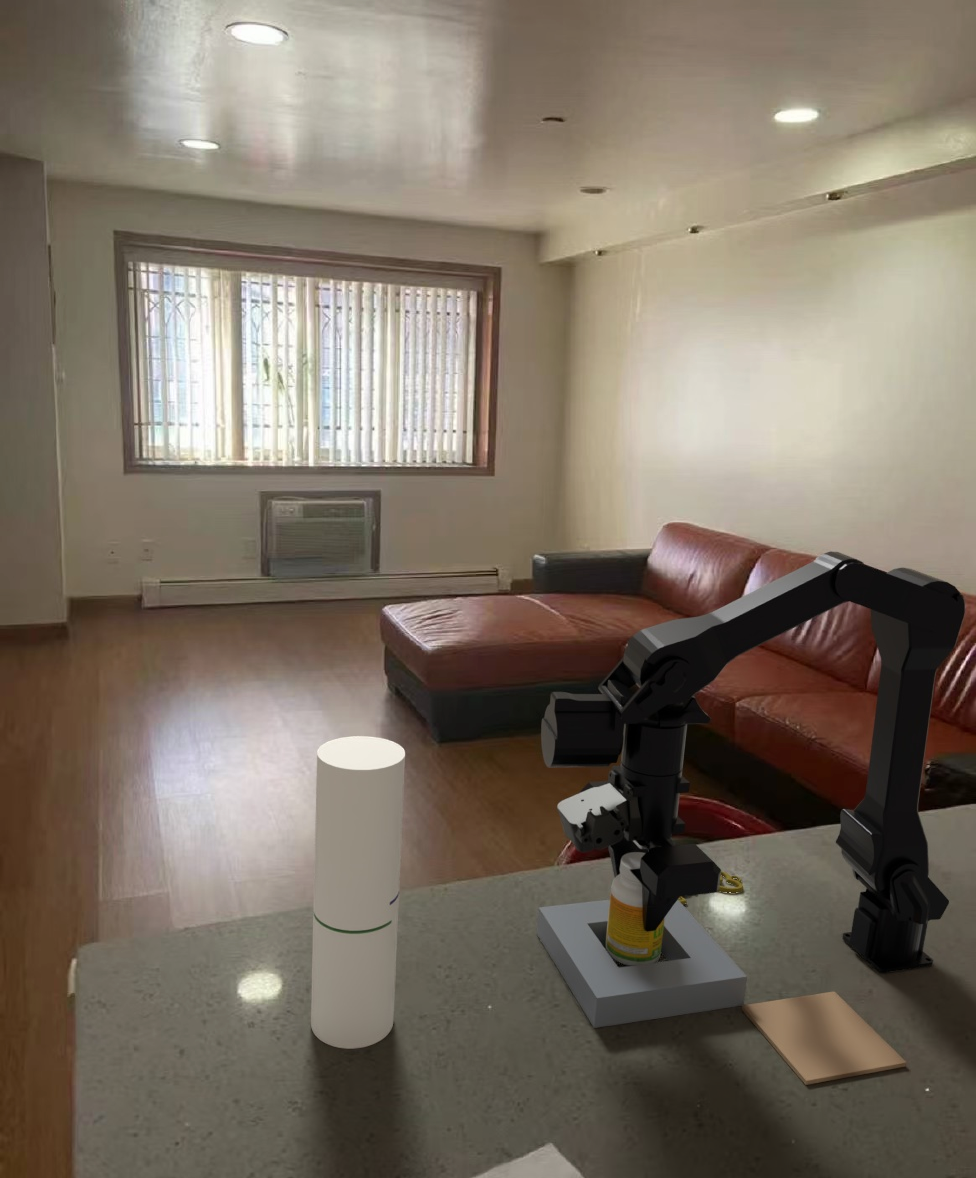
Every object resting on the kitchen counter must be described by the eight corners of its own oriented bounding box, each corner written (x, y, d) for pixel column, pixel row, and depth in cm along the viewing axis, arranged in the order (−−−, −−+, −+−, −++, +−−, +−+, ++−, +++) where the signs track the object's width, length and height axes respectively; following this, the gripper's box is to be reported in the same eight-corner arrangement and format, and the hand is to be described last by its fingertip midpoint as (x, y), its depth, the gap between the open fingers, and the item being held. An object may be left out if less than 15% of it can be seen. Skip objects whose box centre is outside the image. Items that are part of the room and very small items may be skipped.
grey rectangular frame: (668, 917, 105) (671, 892, 105) (743, 1004, 91) (747, 976, 91) (536, 933, 101) (538, 907, 100) (594, 1027, 87) (596, 997, 86)
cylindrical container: (406, 1007, 88) (418, 745, 83) (371, 1057, 81) (382, 776, 76) (335, 987, 90) (342, 730, 85) (295, 1034, 84) (300, 759, 78)
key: (670, 901, 107) (643, 879, 111) (669, 912, 107) (642, 890, 111) (754, 883, 112) (725, 863, 117) (752, 893, 112) (723, 873, 117)
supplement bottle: (659, 972, 93) (669, 879, 91) (602, 962, 94) (611, 870, 92) (661, 941, 99) (670, 852, 96) (607, 932, 100) (615, 844, 97)
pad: (833, 994, 94) (834, 991, 94) (905, 1066, 84) (906, 1062, 84) (741, 1009, 91) (741, 1005, 91) (805, 1084, 81) (806, 1080, 81)
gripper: (536, 732, 98) (526, 874, 102) (613, 815, 81) (598, 982, 85) (638, 726, 102) (624, 864, 105) (732, 804, 84) (713, 966, 88)
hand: (636, 914), depth 96 cm, fingers closed on supplement bottle, 5 cm apart
